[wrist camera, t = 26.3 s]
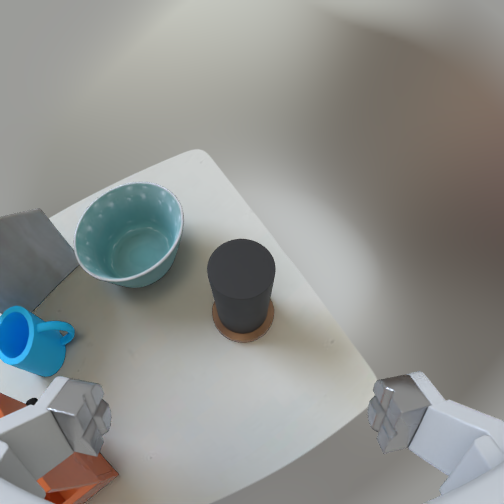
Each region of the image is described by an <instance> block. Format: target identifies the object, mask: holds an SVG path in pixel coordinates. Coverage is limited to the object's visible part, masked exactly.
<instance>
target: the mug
mask: <svg viewBox="0 0 504 504" xmlns="http://www.w3.org/2000/svg"><path fill="white" fill-rule="evenodd" d="M59 330H62V331H67V332H68V333H67V334H66V335H65V336H64V337H63V336H62V334H61V333H60V332H59ZM74 335H75V330H74V328H73V327H72V325H71V324H69V323H66V322H61V321H48V322H45V321H43V320H42V319H40V318H39V317H37V316H36V315H34V314H33V313H31V312H29V311H28V310H26V309H25V308H24V307H21V306H13V307H10V308H8V309H7V310H6V311H4V313H3V314H2V315H1V316H0V359H1V360H2V361H3V362H4V363H7V364H9V365H12V366H15V367H17V368H20V369H23V370H26V371H28V372H31V373H34V374H37V375H40V376H44V377H47V376H52V375H53V374H55V373H57V371H58V370H59V369H60V368H61V366H62V364H63V362H64V359H65V353H66V348H65V345H66V344H67V343H69V342H70V341H71V340H72V339H73V338H74Z"/></svg>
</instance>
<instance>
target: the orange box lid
mask: <svg viewBox="0 0 504 504" xmlns="http://www.w3.org/2000/svg"><path fill="white" fill-rule="evenodd" d="M37 401H38V399H37V398H32V399H29V400H28V401H27V402H26V404H25V403H22V402H20V401H17V400H15V399H13V398H11V397H8V396H6V395H4V394H2V393H0V418H2V417H4V416H6V415H8V414H11V413H13V412H15V411H17V410H20V409H22V408H24V407H26V406H28V405H35V404H36V402H37ZM99 481H100V480H99V478H98V477H97V476H96V475H95V474H94V473H93V472H92V470H91V469H90V468H89V467H88V466H87V464H86V463H85V462H84V461H83V460H82V458H81V457H80V456H79V454H78V453H77V452H75V451H74V453H73V454H72V455H70V456H69V457H68V458H66V459H65V460H64V461H62V462H61V463H60V464H58V465H57V466H56V467H54V468H53V469H52V470H50V471H49V472H48V473H46V474H45V475H44V476H42V477H41V478H39V479H38V480H37V482H38V483H39V485H40V486H41V487H42V488H43V489H44V490H45V492H46V493H50V492H57V491H63V490H69V489H74V488H79V487H84V486H89V485H93V484H97V483H98V482H99Z"/></svg>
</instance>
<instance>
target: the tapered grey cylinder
mask: <svg viewBox="0 0 504 504" xmlns="http://www.w3.org/2000/svg"><path fill="white" fill-rule="evenodd" d="M207 273H208V278H209V282H210V286H211V289H212V293H213V297H214V301H215V305H216V308H217V312H218V316H219V319H220V321H221V323H222V324H223V325H224V326H225V327H226V328H227V329H228V330H230V331H232V332H235V333H239V334H245V333H250V332H253V331H255V330H257V329H258V328H259V327H260V326H261V325H262V324H263V323H264V321H265V319H266V316H267V312H268V307H269V302H270V297H271V292H272V287H273V282H274V277H275V262H274V259H273V257H272V255H271V254H270V252H269V251H268V250H267V249H266V248H265V247H264V246H262V245H261V244H259V243H257V242H255V241H252V240H247V239H236V240H231V241H228V242H226V243H224V244H222V245H221V246H219V247H218V248H217V249H216V250H215V251H214V252H213V253H212V255H211V257H210V259H209V262H208V267H207Z"/></svg>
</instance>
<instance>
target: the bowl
mask: <svg viewBox="0 0 504 504" xmlns="http://www.w3.org/2000/svg"><path fill="white" fill-rule="evenodd" d="M183 226H184V215H183V210H182V207H181V204H180V202H179V200H178V199H177V197H176V196H175V195H174V194H173V193H172V192H171V191H169V190H168V189H166V188H165V187H163V186H161V185H158V184H155V183H149V182H133V183H127V184H123V185H120V186H117V187H115V188H113V189H111V190H109V191H107V192H105V193H104V194H102V195H101V196H99V197H98V198H97V199H96V200H94V201H93V202H92V203H91V204H90V205H89V206H88V208H87V209H86V210H85V211H84V213H83V215H82V216H81V218H80V220H79V222H78V224H77V227H76V230H75V235H74V252H75V256H76V258H77V261H78V263H79V264H80V266H81V267H82V268H83V269H84V270H85V271H86V272H87V273H88V274H90V275H91V276H93V277H95V278H97V279H99V280H102V281H105V282H109V283H112V284H116V285H120V286H125V287H131V288H138V287H144V286H147V285H150V284H152V283H154V282H156V281H157V280H159V279H160V278H161V277H162V276H164V275H165V274H166V272H167V271H168V270H169V269H170V267H171V265H172V263H173V261H174V259H175V256H176V253H177V249H178V246H179V243H180V239H181V235H182V231H183Z"/></svg>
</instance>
